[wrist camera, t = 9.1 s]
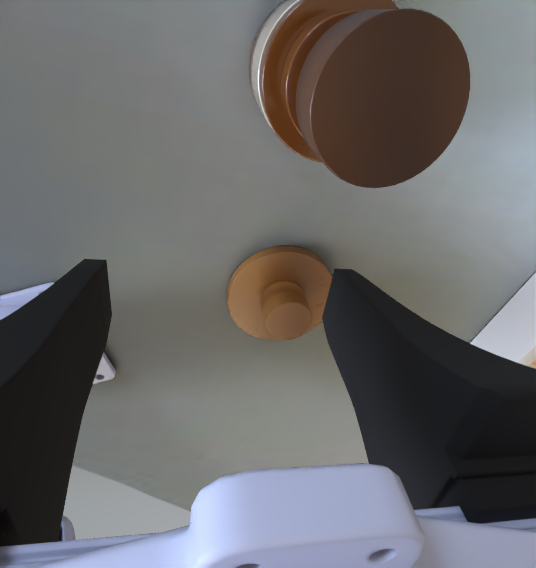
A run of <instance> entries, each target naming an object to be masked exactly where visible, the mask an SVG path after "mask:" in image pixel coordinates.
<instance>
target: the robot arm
mask: <svg viewBox="0 0 536 568" xmlns="http://www.w3.org/2000/svg"><path fill="white" fill-rule="evenodd" d="M41 292H42V293H41ZM111 316H112V311H111V301H110V292H109V282H108V272H107V262H106V260H94V259H84V260H83V261H81V262H80V263H79V264H78V265H76V266H75V267H74V268H73V269H71V270H70V271H69V272H68V273H67V274H65V275H64V276H63V277H62V278H60V279H59V280H58V281H56V282H55V283H53V282H51V283H46V284H42V285H39V286H35V287H31V288H27V289H24V290H20V291H16V292H12V293H9V294H5V295H1V296H0V568H536V369H535V368H532V367H529V366H526V365H523V364H520V363H517V362H514V361H512V360H509V359H506V358H503V357H501V356H498V355H496V354H493V353H491V352H488V351H486V350H483V349H481V348H479V347H477V346H474V345H472V344H470V343H468V342H466V341H463V340H461V339H459V338H457V337H455V336H453V335H451V334H449V333H448V332H446V331H444V330H442V329H440V328H438V327H437V326H435V325H433V324H431V323H430V322H428V321H426V320H425V319H423V318H421V317H420V316H418V315H417V314H415V313H414V312H412V311H411V310H409V309H407V308H406V307H405V306H403V305H402V304H400V303H399V302H397V301H396V300H394V299H393V298H392V297H390V296H389V295H388V294H386V293H385V292H383V291H382V290H381V289H379V288H378V287H377V286H375V285H374V284H373V283H371V282H370V281H369V280H367V279H366V278H364V277H363V276H362V275H360V274H359V273H357V272H355V271H354V270H352V269H335V270H334V273H333V277H332V281H331V285H330V289H329V293H328V296H327V300H326V304H325V308H324V312H323V316H322V319H323V324H324V328H325V332H326V336H327V340H328V343H329V346H330V349H331V351H332V354H333V356H334V359H335V361H336V363H337V366H338V368H339V371H340V373H341V376H342V378H343V380H344V383H345V385H346V388H347V390H348V393H349V395H350V398H351V401H352V403H353V406H354V409H355V413H356V416H357V420H358V423H359V427H360V430H361V434H362V438H363V442H364V445H365V449H366V453H367V457H368V461H369V464H364V463H359V464H343V465H326V466H310V467H294V468H278V469H262V470H248V471H244V472H239V473H234V474H229V475H225V476H222V477H221V478H219V479H217V480H216V481H214V482H212V483H211V484H209V485H207V486H205V487H204V488H203V489H202V490H201V491H200V492H199V493H198V495H197V497H196V499H195V501H194V503H193V504H192V506H191V522H190V525H188V526H184V527H181V528H177V529H173V530H170V531H166V532H161V533H150V534H139V535H127V536H116V537H105V538H93V539H82V540H75V534H74V528H73V525H72V523H71V521H70V520H69V519H68V518H67V517H65V516H63V510H64V505H65V500H66V494H67V488H68V483H69V478H70V473H71V468H72V463H73V458H74V453H75V448H76V443H77V439H78V434H79V429H80V425H81V420H82V416H83V412H84V409H85V405H86V402H87V399H88V396H89V393H90V390H91V387H92V385H93V384H95V383H99V382H103V381H107V380H110V379H113V378H114V377H115V373H116V371H115V368H114V367H113V365H112V364H111V362H110V361H109V359H108V358H107V356H106V355H105V353H104V349H105V346H106V343H107V338H108V333H109V327H110V322H111ZM98 374H101V375H98Z"/></svg>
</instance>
